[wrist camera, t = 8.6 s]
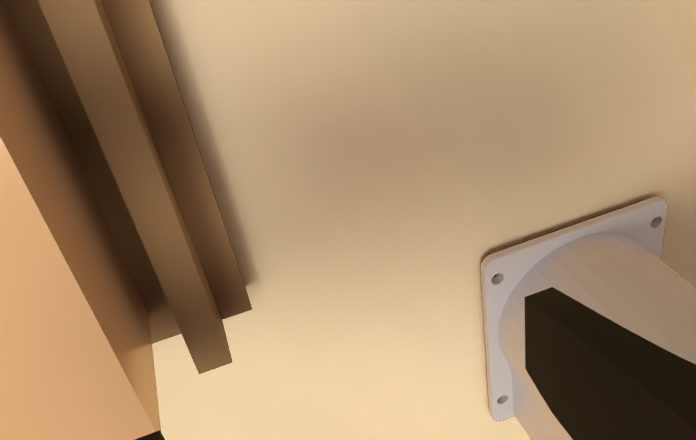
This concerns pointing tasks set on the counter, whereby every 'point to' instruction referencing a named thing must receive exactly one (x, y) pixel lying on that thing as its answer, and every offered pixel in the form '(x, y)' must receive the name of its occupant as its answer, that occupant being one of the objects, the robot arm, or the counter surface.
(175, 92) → the drying rack
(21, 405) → the clay bar
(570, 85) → the counter surface
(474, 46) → the counter surface
